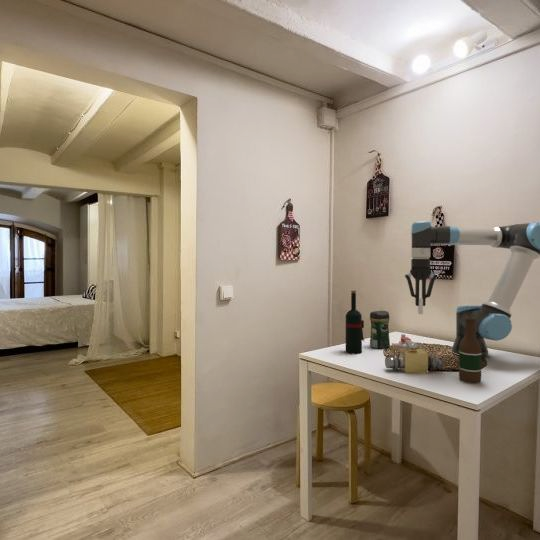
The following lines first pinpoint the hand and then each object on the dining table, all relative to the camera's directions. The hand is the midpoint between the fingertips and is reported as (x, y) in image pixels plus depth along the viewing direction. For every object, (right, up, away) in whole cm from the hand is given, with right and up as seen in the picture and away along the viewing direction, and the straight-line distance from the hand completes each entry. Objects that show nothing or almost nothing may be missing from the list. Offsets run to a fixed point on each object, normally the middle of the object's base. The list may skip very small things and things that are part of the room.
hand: (420, 313), depth 162 cm
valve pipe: (-5, -23, -6) cm, 24 cm away
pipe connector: (-2, -22, +15) cm, 27 cm away
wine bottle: (-22, -22, +24) cm, 39 cm away
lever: (-5, -13, -2) cm, 14 cm away
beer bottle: (+11, -23, -19) cm, 32 cm away
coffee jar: (-8, -21, +32) cm, 39 cm away
